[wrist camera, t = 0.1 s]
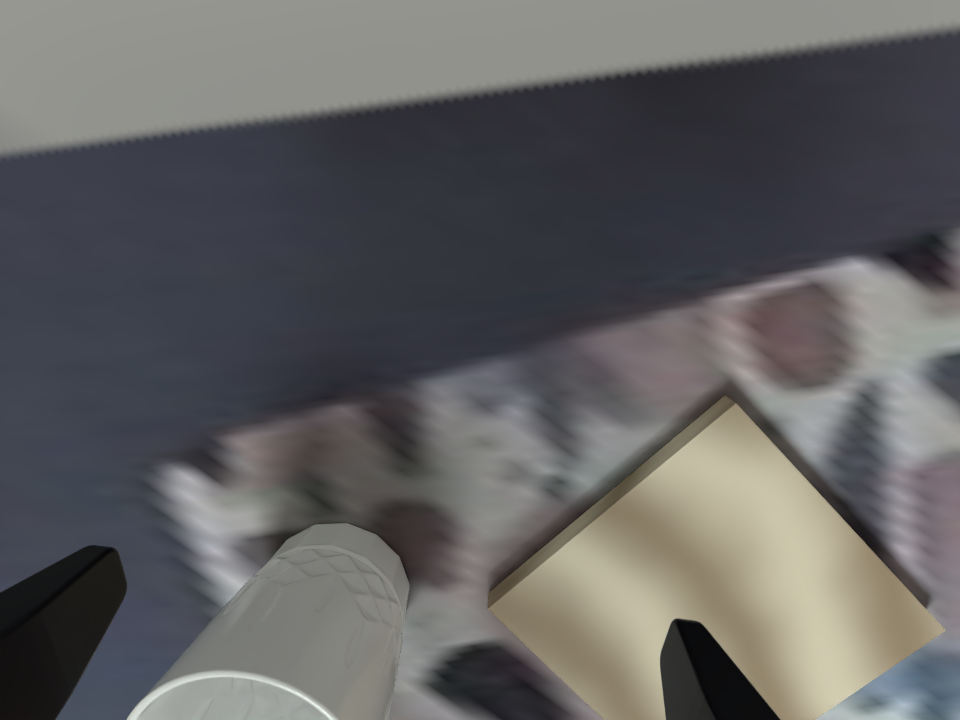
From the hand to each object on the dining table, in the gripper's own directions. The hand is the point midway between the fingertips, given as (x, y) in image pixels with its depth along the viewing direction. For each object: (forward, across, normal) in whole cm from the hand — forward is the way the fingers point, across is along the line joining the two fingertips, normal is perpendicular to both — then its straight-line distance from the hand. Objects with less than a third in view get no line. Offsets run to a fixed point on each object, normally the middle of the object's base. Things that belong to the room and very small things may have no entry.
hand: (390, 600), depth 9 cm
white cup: (+12, +5, +14) cm, 20 cm away
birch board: (+13, -12, +13) cm, 22 cm away
